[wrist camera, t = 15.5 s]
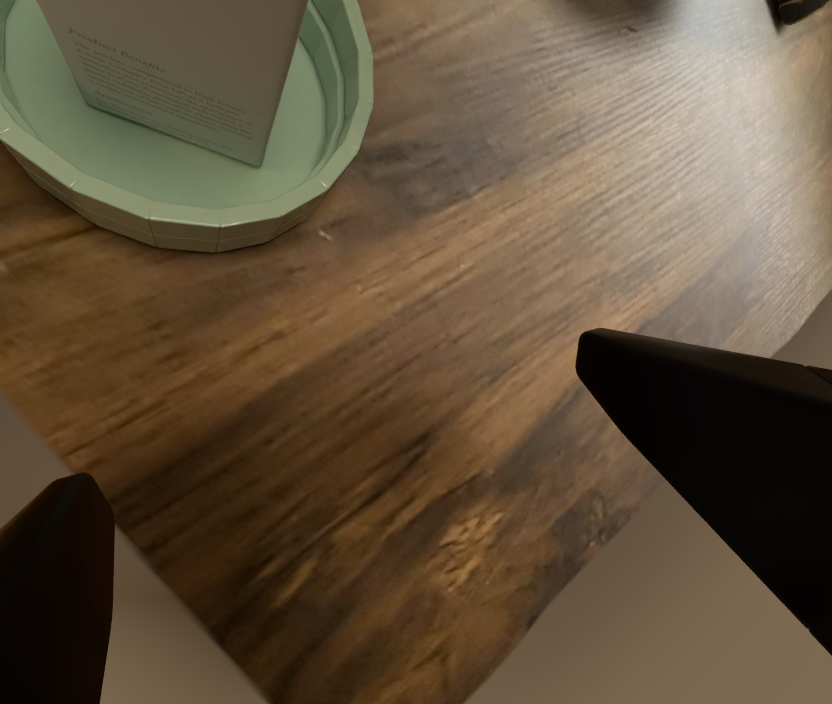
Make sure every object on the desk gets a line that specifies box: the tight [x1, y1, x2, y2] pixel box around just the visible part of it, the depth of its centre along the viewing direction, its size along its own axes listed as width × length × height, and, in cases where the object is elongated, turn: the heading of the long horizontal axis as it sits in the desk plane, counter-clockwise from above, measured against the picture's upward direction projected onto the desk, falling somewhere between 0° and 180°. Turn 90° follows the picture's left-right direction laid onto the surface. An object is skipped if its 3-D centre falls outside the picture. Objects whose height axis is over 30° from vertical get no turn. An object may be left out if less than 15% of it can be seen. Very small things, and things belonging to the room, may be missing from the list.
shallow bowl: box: [0, 0, 374, 253], centre depth 16 cm, size 12×12×4 cm
